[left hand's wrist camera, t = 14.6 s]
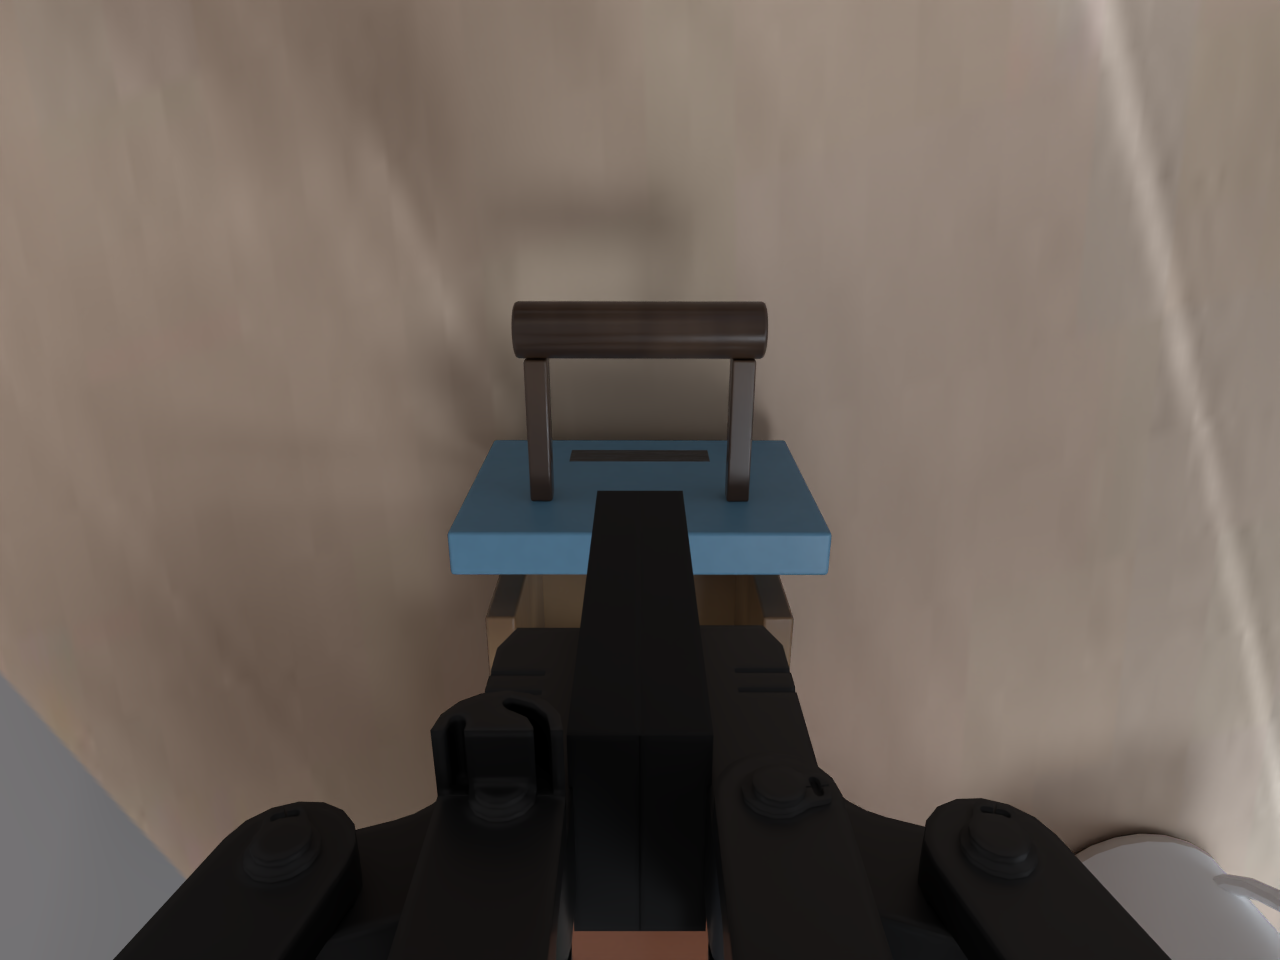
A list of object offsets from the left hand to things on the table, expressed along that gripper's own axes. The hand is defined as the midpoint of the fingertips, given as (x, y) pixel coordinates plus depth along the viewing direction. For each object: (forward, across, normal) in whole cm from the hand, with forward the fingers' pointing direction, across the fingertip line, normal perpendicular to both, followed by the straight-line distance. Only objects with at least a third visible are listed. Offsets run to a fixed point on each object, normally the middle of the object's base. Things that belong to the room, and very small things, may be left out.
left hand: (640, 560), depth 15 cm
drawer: (+13, 0, -6) cm, 14 cm away
